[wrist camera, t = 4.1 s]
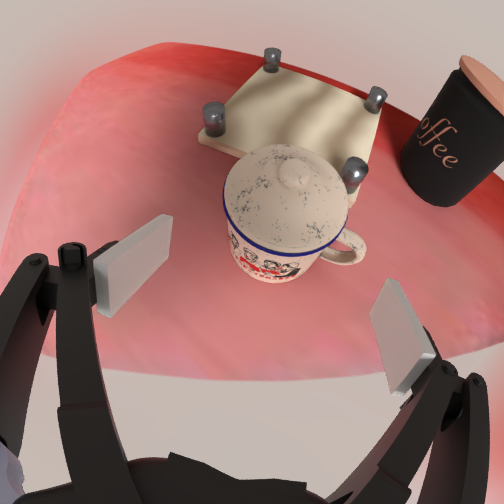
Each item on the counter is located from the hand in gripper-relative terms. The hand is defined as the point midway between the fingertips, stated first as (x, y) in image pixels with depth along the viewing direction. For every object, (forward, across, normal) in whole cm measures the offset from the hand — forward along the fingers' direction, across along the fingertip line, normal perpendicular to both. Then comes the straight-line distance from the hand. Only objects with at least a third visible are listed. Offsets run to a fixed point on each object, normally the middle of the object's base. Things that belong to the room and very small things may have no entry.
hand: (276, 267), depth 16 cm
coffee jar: (+23, +18, +8) cm, 30 cm away
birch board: (+24, -1, +9) cm, 25 cm away
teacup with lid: (+11, +1, -3) cm, 12 cm away
